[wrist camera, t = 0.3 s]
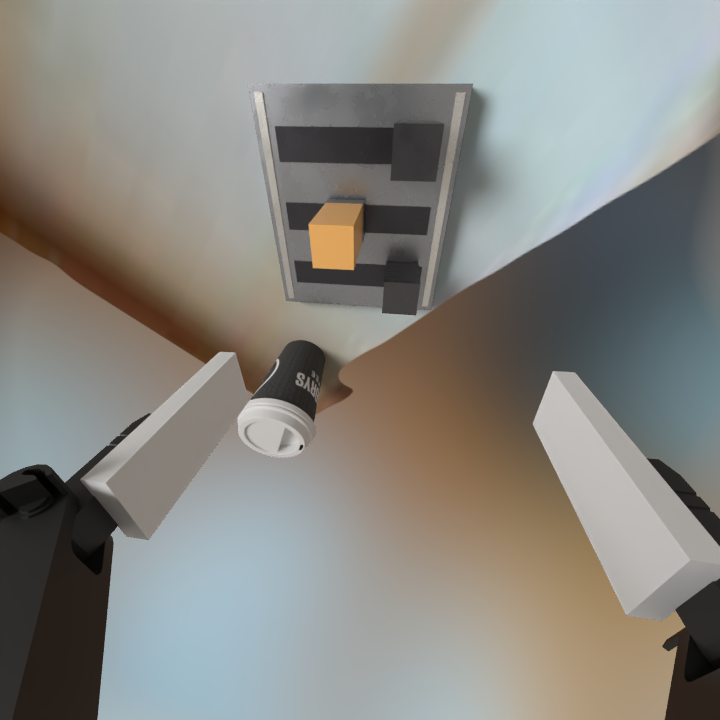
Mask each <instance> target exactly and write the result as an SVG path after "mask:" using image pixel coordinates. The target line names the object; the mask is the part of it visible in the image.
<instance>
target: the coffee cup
mask: <svg viewBox="0 0 720 720" xmlns="http://www.w3.org/2000/svg"><path fill="white" fill-rule="evenodd" d="M324 363H325V357H324V354H323V352H322V351H321V350H320V349H319V348H318V347H317V346H316V345H314V344H312V343H310V342H307V341H302V340H298V341H293V342H291V343H289V344H288V345H287V346H286V347H285V348H284V350H283V351H282V353H281V354H280V356H279V357H278V359H277V360H276V362H275V364H274V365H273V367H272V368H271V370H270V371H269V373H268V374H267V376H266V377H265V379H264V380H263V382H262V383H261V385H260V386H259V388H258V389H257V391H256V392H255V394H254V395H253V397H252V398H251V400H250V401H249V402H248V403H247V404H246V406H245V407H244V409H243V410H242V411H241V413H240V414H239V416H238V426H239V427H238V432H239V436H240V438H241V439H242V440H243V442H244V443H245V444H246V445H248V446H249V447H250V448H252V449H253V450H255V451H257V452H260V453H262V454H265V455H268V456H272V457H280V458H283V457H284V458H286V457H293V456H296V455H298V454H300V453H301V452H302V451H303V450H304V448H306V447H307V446H308V445H309V444H310V443H311V441H312V440H313V438H314V436H315V433H316V427H315V424H314V419H315V413H316V407H317V401H318V396H319V390H320V385H321V379H322V374H323V368H324Z"/></svg>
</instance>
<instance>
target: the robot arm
mask: <svg viewBox="0 0 720 720" xmlns="http://www.w3.org/2000/svg"><path fill="white" fill-rule="evenodd" d="M248 402H249V399H248V395H247V392H246V388H245V385H244V381H243V378H242V374H241V371H240V367H239V364H238V360H237V357H236V353H230V352H219V353H218V354H217V355H216V356H214V357H213V358H212V359H211V360H210V361H209V362H208V363H207V364H206V365H205V366H204V367H203V368H201V369H200V370H199V371H198V372H197V373H196V374H195V375H194V376H193V377H192V378H190V379H189V380H188V381H187V382H186V383H185V384H184V385H183V386H182V387H181V388H180V389H178V390H177V391H176V392H175V393H174V394H173V395H172V396H171V397H170V398H169V399H168V400H167V401H165V402H164V403H163V404H162V405H161V406H160V407H159V408H158V409H157V410H156V411H154V412H153V413H152V414H147V415H145V416H144V417H142V418H140V419H139V420H137V421H135V422H133V423H132V424H131V425H130V426H129V427H128V428H126V429H125V430H124V431H123V432H122V433H121V434H120V436H118V437H116V438H115V439H114V440H113V441H112V442H111V443H110V445H109V446H106V447H105V448H104V449H103V450H102V451H100V452H99V453H98V454H97V455H96V456H95V457H94V458H93V459H91V460H90V461H89V462H88V463H87V464H86V465H85V466H84V467H82V468H81V469H80V470H79V471H78V472H77V473H76V474H74V475H73V476H72V477H71V478H70V479H69V480H68V481H66V482H65V483H64V482H63V481H62V479H60V477H59V476H58V475H57V474H56V473H55V471H54V470H53V469H52V468H51V467H49V466H48V465H34V466H29V467H25V468H23V469H20V470H18V471H16V472H13V473H11V474H9V475H8V476H6V477H4V478H3V479H1V480H0V720H97V717H98V705H99V695H100V684H101V674H102V662H103V652H104V641H105V630H106V620H107V609H108V597H109V587H110V575H111V565H112V554H113V538H112V536H111V533H112V532H113V531H114V530H115V529H116V527H117V526H118V527H119V528H120V529H121V530H122V531H123V533H124V534H125V535H126V536H127V537H134V538H140V539H146V540H149V539H150V537H151V536H152V535H153V533H154V532H155V530H156V529H157V528H158V526H159V525H160V524H161V522H162V521H163V519H164V518H165V517H166V515H167V514H168V513H169V511H170V510H171V508H172V507H173V506H174V504H175V503H176V501H177V500H178V499H179V497H180V496H181V494H182V493H183V492H184V490H185V489H186V488H187V486H188V485H189V483H190V482H191V481H192V479H193V478H194V477H195V475H196V474H197V472H198V471H199V470H200V468H201V467H202V465H203V464H204V463H205V461H206V460H207V458H208V457H209V456H210V454H211V453H212V452H213V450H214V449H215V447H216V446H217V445H218V443H219V442H220V440H221V439H222V438H223V436H224V435H225V434H226V432H227V431H228V429H229V428H230V427H231V425H232V424H233V422H234V421H235V420H236V418H237V417H238V416H239V414H240V413H241V411H242V410H243V409H244V407H245V406H246V404H247V403H248ZM533 426H534V427H535V430H536V432H537V434H538V436H539V438H540V440H541V442H542V444H543V446H544V448H545V450H546V452H547V454H548V456H549V458H550V460H551V462H552V464H553V466H554V468H555V470H556V473H557V475H558V477H559V479H560V481H561V483H562V485H563V486H564V489H565V491H566V493H567V495H568V497H569V499H570V501H571V503H572V505H573V507H574V509H575V511H576V513H577V515H578V517H579V519H580V522H581V524H582V526H583V528H584V530H585V532H586V534H587V536H588V538H589V540H590V542H591V544H592V546H593V548H594V550H595V552H596V554H597V556H598V558H599V560H600V562H601V564H602V566H603V569H604V570H605V573H606V575H607V577H608V579H609V581H610V583H611V585H612V587H613V589H614V591H615V593H616V595H617V597H618V599H619V601H620V603H621V605H622V607H623V609H624V611H625V613H626V615H627V616H633V617H639V618H646V619H652V620H658V621H662V620H664V619H665V618H666V617H668V616H669V615H671V614H672V613H673V612H675V611H676V612H677V613H678V615H679V617H680V618H681V620H682V622H683V623H684V625H685V626H686V627H685V628H684V629H682V630H681V631H679V632H678V633H676V634H675V635H673V636H672V637H670V638H669V639H667V640H666V641H665V643H664V645H663V648H665V649H666V650H667V651H670V650H671V649H673V648H674V647H676V646H678V647H677V652H676V658H675V664H674V670H673V675H672V681H671V687H670V693H669V699H668V705H667V710H666V716H665V720H720V519H719V518H718V517H717V516H716V514H715V513H714V512H711V511H710V508H709V507H708V505H707V504H706V503H705V502H704V501H703V500H702V499H701V498H700V497H697V496H696V492H695V491H694V490H693V489H692V488H691V487H690V486H689V484H688V483H687V482H686V481H685V480H684V479H683V478H682V477H681V476H680V475H679V474H678V473H676V472H675V471H674V470H672V469H671V468H670V467H668V466H667V465H665V464H664V463H663V462H662V461H660V460H659V459H647V458H645V456H644V455H643V454H642V453H641V451H640V450H639V449H638V448H637V447H636V445H634V443H633V442H632V441H631V439H630V438H629V437H628V436H627V435H626V433H625V432H624V431H623V430H622V429H621V428H620V426H619V425H618V424H617V423H616V421H615V420H614V419H613V418H612V417H611V415H610V414H609V413H608V412H607V411H606V409H605V408H604V407H603V406H602V405H601V403H600V402H599V401H598V400H597V399H596V397H595V396H594V395H593V394H592V393H591V391H590V390H589V389H588V388H587V387H586V385H585V384H584V383H583V382H582V381H581V379H580V378H579V377H578V376H577V375H576V373H574V372H573V373H572V372H557V371H553V373H552V376H551V378H550V381H549V383H548V386H547V389H546V391H545V394H544V396H543V399H542V401H541V404H540V406H539V409H538V412H537V414H536V417H535V419H534V422H533Z"/></svg>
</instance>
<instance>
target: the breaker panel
mask: <svg viewBox="0 0 720 720" xmlns="http://www.w3.org/2000/svg"><path fill="white" fill-rule="evenodd" d="M472 86H473V84H248V89H249V94H250V100H251V106H252V111H253V117H254V122H255V128H256V134H257V139H258V145H259V150H260V156H261V162H262V167H263V173H264V179H265V184H266V190H267V195H268V201H269V207H270V212H271V218H272V223H273V229H274V235H275V240H276V246H277V251H278V257H279V263H280V268H281V274H282V280H283V285H284V291H285V296H286V301H295V302H311V303H327V304H343V305H360V306H376V307H382V313H389V314H404V315H416V311H417V309H424V310H431V307H432V301H433V296H434V291H435V285H436V280H437V274H438V269H439V264H440V258H441V253H442V248H443V242H444V237H445V231H446V226H447V221H448V215H449V210H450V205H451V199H452V194H453V189H454V183H455V178H456V172H457V167H458V162H459V156H460V151H461V146H462V140H463V135H464V129H465V124H466V119H467V113H468V108H469V103H470V97H471V92H472ZM327 199H343V200H365V216H364V241H363V243H362V245H361V249H360V252H359V255H358V258H357V262H356V265H355V268H354V270H341V269H322V268H313V264H312V255H311V245H310V235H309V226H308V224H309V223H310V222H311V220H312V219H313V218H314V217H315V215H316V214H317V213H318V212H319V211H320V209H321V208H322V207H323V206H324V204H325V202H326V201H327Z"/></svg>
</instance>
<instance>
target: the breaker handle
mask: <svg viewBox="0 0 720 720" xmlns="http://www.w3.org/2000/svg"><path fill="white" fill-rule="evenodd" d="M364 216H365V200H343V199H327V201H326V202H325V204H324V206H323V207H322V208H321V209H320V211H319V212H318V213H317V214H316V215H315V217H314V218H313V219H312V220H311V222H310V223H309V224H308V226H309V235H310V245H311V255H312V264H313V268H322V269H341V270H354V268H355V265H356V262H357V258H358V255H359V252H360V249H361V245H362V243H363V241H364Z"/></svg>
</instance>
